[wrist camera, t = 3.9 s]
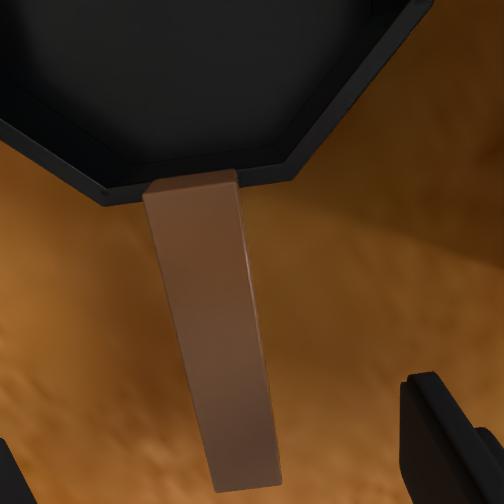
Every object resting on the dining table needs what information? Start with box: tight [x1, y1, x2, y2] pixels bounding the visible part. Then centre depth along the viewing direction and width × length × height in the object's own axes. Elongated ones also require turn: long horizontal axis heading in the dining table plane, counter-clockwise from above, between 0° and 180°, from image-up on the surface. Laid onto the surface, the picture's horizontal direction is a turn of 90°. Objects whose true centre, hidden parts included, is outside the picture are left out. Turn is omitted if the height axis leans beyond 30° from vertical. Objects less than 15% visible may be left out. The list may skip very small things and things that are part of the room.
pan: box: [0, 0, 434, 493], centre depth 11 cm, size 12×22×5 cm, turn 8°
